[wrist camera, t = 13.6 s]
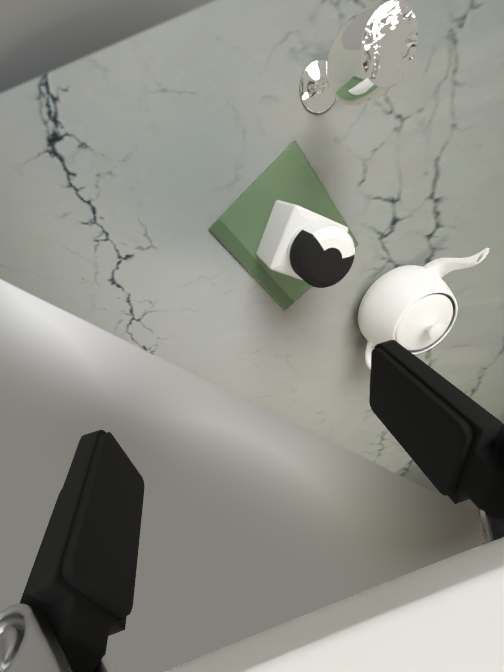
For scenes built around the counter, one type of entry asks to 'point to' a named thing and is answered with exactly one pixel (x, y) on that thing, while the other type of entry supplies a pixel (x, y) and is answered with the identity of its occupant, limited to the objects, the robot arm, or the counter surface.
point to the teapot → (412, 305)
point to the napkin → (255, 209)
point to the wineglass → (363, 58)
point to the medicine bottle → (306, 245)
